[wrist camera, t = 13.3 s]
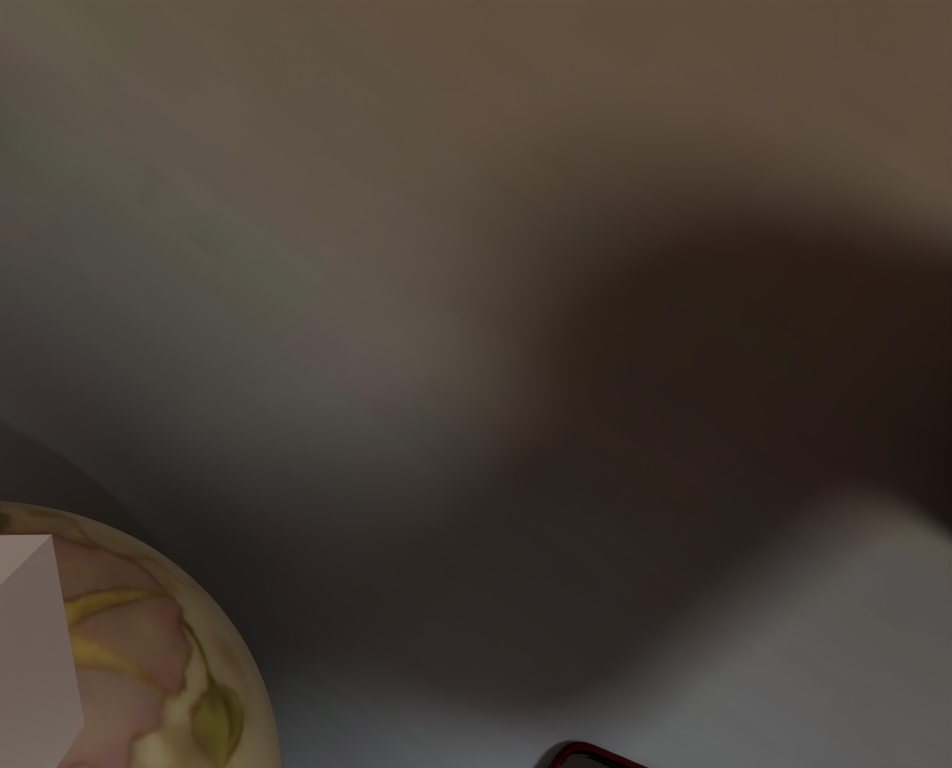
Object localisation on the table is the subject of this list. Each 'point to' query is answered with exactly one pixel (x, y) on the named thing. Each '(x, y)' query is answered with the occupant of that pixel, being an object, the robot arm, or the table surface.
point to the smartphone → (589, 758)
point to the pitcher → (150, 655)
